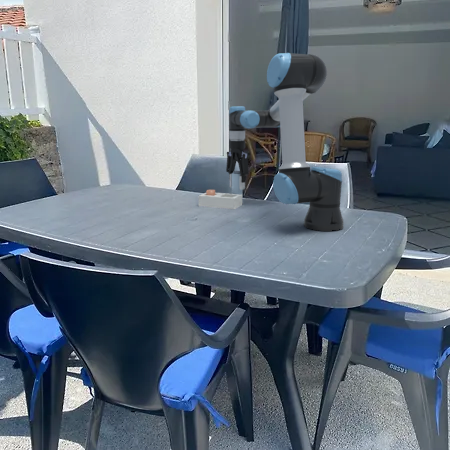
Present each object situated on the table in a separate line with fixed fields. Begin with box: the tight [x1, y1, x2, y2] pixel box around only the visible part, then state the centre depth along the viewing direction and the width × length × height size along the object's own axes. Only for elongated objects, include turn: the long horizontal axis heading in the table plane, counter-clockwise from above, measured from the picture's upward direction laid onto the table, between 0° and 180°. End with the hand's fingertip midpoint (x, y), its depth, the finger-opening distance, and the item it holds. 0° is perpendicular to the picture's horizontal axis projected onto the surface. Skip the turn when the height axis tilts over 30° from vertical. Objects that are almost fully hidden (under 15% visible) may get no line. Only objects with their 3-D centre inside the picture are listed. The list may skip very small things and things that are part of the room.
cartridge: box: [231, 170, 243, 196], centre depth 208 cm, size 5×5×16 cm
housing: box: [198, 192, 243, 210], centre depth 201 cm, size 10×18×6 cm, turn 67°
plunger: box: [205, 189, 216, 196], centre depth 202 cm, size 4×4×6 cm
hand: (237, 187), depth 208 cm, fingers open, 7 cm apart
